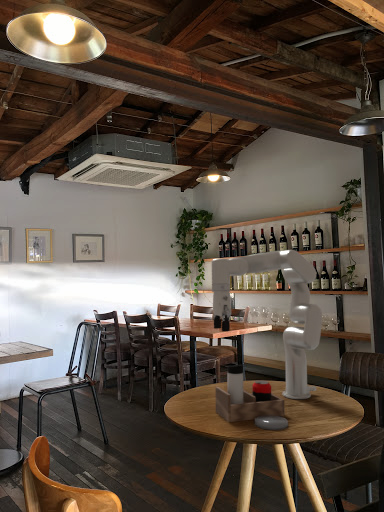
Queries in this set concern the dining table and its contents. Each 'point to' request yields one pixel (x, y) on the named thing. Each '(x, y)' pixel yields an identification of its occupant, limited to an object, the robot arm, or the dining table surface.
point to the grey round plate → (271, 422)
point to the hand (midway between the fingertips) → (221, 329)
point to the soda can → (261, 391)
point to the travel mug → (235, 383)
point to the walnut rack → (247, 406)
